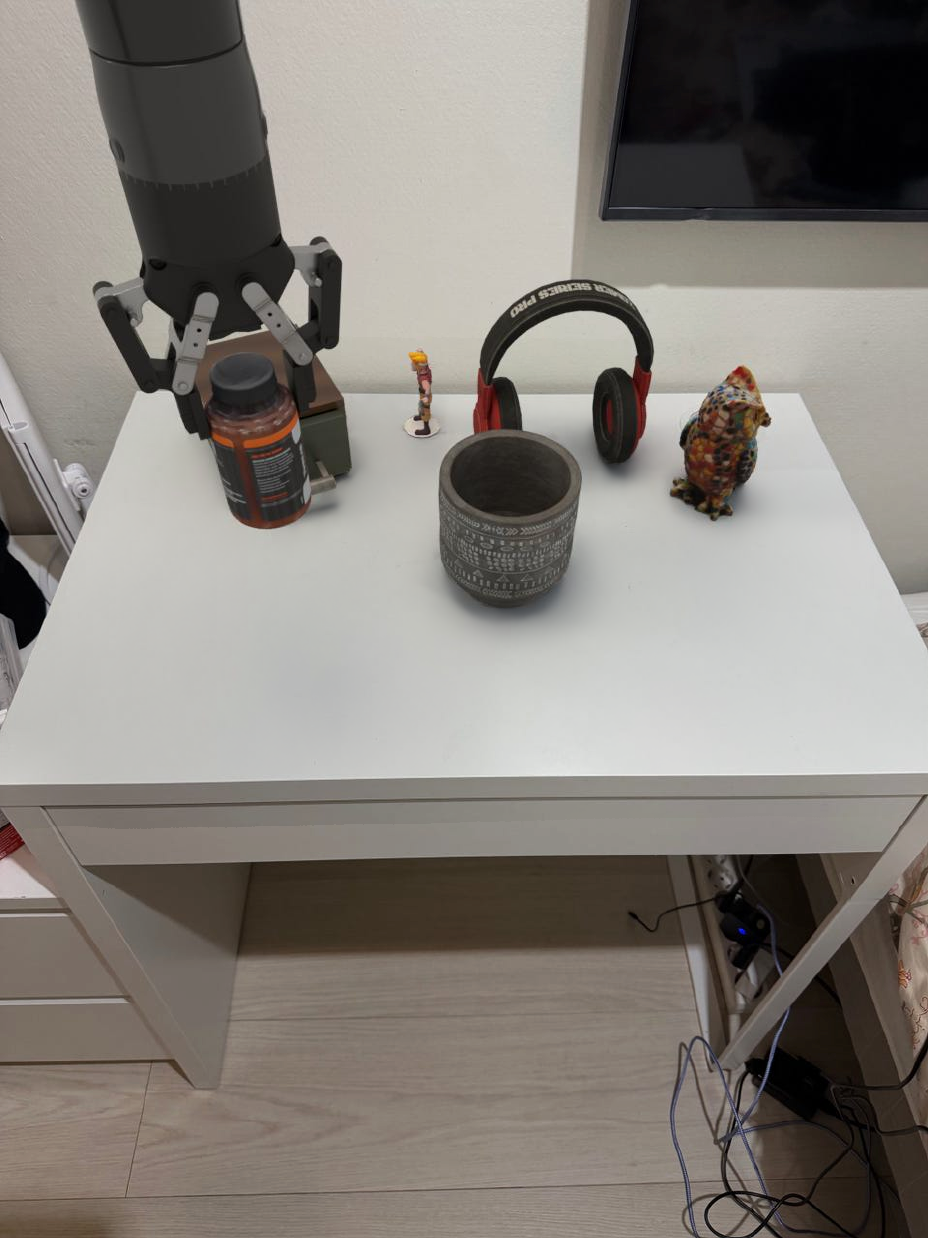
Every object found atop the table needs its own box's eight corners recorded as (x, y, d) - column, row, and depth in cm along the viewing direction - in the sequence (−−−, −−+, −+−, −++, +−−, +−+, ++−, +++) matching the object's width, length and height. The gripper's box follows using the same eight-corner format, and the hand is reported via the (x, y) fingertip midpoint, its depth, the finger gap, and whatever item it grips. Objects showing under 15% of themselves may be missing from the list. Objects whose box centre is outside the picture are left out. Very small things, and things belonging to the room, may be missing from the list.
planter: (550, 638, 76) (565, 537, 66) (422, 606, 78) (418, 505, 69) (578, 545, 84) (595, 443, 74) (461, 519, 86) (462, 416, 76)
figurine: (769, 511, 87) (818, 389, 76) (693, 532, 85) (731, 409, 74) (725, 460, 92) (765, 338, 81) (652, 478, 90) (682, 355, 79)
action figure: (442, 466, 91) (441, 393, 84) (415, 467, 91) (412, 394, 84) (434, 398, 99) (432, 326, 91) (409, 399, 98) (406, 327, 91)
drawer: (364, 493, 87) (358, 438, 81) (254, 527, 84) (240, 471, 78) (308, 399, 97) (300, 344, 91) (208, 425, 93) (193, 370, 88)
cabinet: (352, 468, 91) (344, 398, 84) (235, 502, 87) (217, 432, 80) (307, 392, 99) (296, 323, 92) (199, 421, 95) (179, 351, 89)
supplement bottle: (330, 497, 62) (310, 362, 53) (275, 545, 58) (245, 410, 50) (267, 466, 64) (239, 331, 55) (212, 512, 60) (171, 376, 52)
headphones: (482, 496, 88) (490, 323, 73) (467, 436, 94) (471, 265, 79) (645, 481, 90) (685, 309, 75) (619, 422, 96) (652, 252, 81)
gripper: (305, 96, 46) (337, 362, 59) (29, 138, 42) (128, 414, 55) (353, 149, 42) (376, 424, 55) (51, 202, 38) (153, 485, 51)
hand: (251, 418), depth 55 cm, fingers closed on supplement bottle, 6 cm apart
